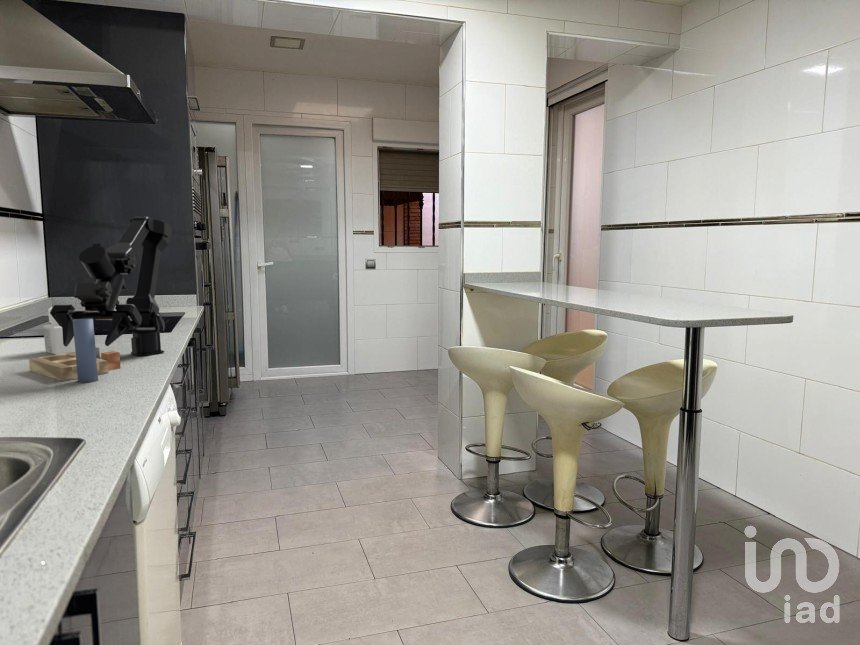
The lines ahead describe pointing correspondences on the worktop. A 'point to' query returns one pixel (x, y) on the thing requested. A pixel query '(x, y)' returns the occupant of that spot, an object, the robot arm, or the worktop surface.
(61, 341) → the container
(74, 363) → the socket board
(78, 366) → the blue-grey cylinder
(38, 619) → the worktop surface
